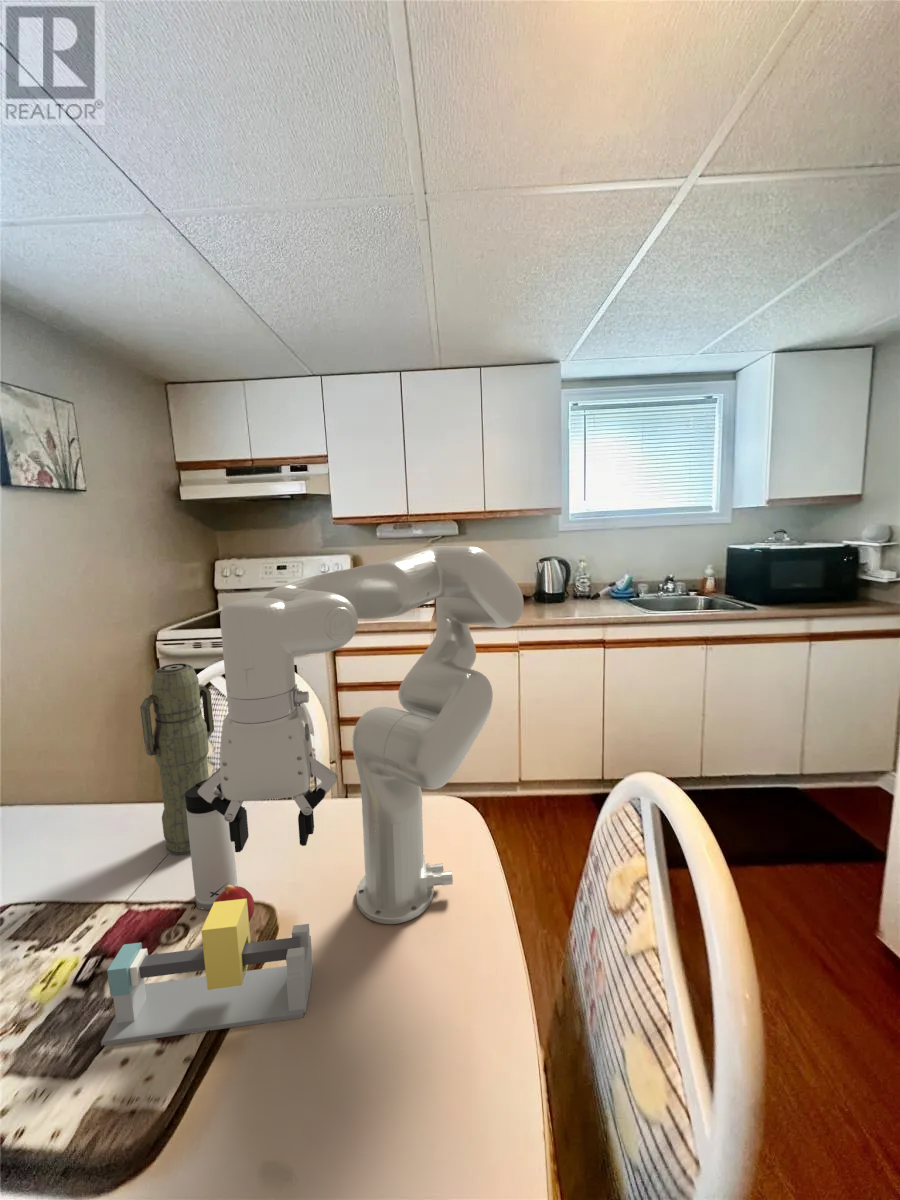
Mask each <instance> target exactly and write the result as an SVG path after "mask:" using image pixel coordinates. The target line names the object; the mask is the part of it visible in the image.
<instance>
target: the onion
mask: <svg viewBox="0 0 900 1200" xmlns="http://www.w3.org/2000/svg"><path fill="white" fill-rule="evenodd" d="M225 889H226V890H224V891H223V892H222V893H221V894H220V895H219V896H218V897H217V899H216V901H215V902H220V901H229V900H238V899H247V906H248V918H249V923H250V922H251V920H252V918H253V916H254V912H255V901H254V897H253V895H252V894H251V893H250V891H248V890H247V889H246V888H245V887H242V886H239V885H238V886H232V885H227V886H226V887H225Z"/></svg>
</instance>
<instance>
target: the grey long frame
mask: <svg viewBox="0 0 900 1200" xmlns="http://www.w3.org/2000/svg"><path fill="white" fill-rule="evenodd" d="M280 961H286V965H282V966H275V967H268V968H259V969H252V970H247V971H246V974H245V977H244V980H243V983H242V985H241V986H233V987H226V988H218V989H210V990H207V980H206V975H205V976H198V977H189V978H182V979H173V980H166V981H160V982H159V981H158V982H151V983H145V979H146V978H153V977H162V976H168V975H169V976H170V975H177V974H185V973H195V972H201V971H202V972H203V971H205V961H204V951H203V948H197V949H195V948H194V949H187V950H179V951H172V952H171V951H169V952H162V953H156V954H155V953H154V954H149V953H148V948H143V943H142V942H133V943H126V944H123V945H122V946H121V948H120V950H119V951H118V952H117V954H116V956H115V958H114V959H113V960H112V962H111V964H110V965H109V967H108V968H107V971H106V972H107V978H108V986H109V993H110V997H111V998H112V999H113V1006H114V1013H115V1016H114V1018H113V1019H112V1021H111V1023H110V1025H109V1026H108V1028H107V1030H106V1032H105V1034H104V1035H103V1037H102V1039H101V1040H100V1044H101V1047H104V1046H105V1047H106V1046H111V1045H117V1044H125V1043H133V1042H139V1041H145V1040H153V1039H159V1038H166V1037H167V1038H168V1037H174V1036H175V1037H176V1036H181V1035H188V1034H194V1033H195V1034H196V1033H203V1032H210V1031H216V1030H223V1029H230V1028H231V1029H232V1028H236V1027H244V1026H251V1025H258V1024H264V1023H265V1024H266V1023H272V1022H273V1023H274V1022H279V1021H287V1020H293V1019H300V1018H304V1016H305V1014H306V1013H307V1007H308V1001H309V995H310V989H311V983H312V976H313V971H314V967H313V965H314V964H313V951H312V936H311V935H310V923H304V924H297V925H293V927H292V931H291V937H285V938H279V939H271V940H261V941H254V942H253V941H252V942H251V943H245V945H244V948H243V951H242V965H248V966H249V965H255V964H263V963H264V964H265V963H271V962H280ZM209 1030H210V1031H209ZM103 1045H104V1046H103Z"/></svg>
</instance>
